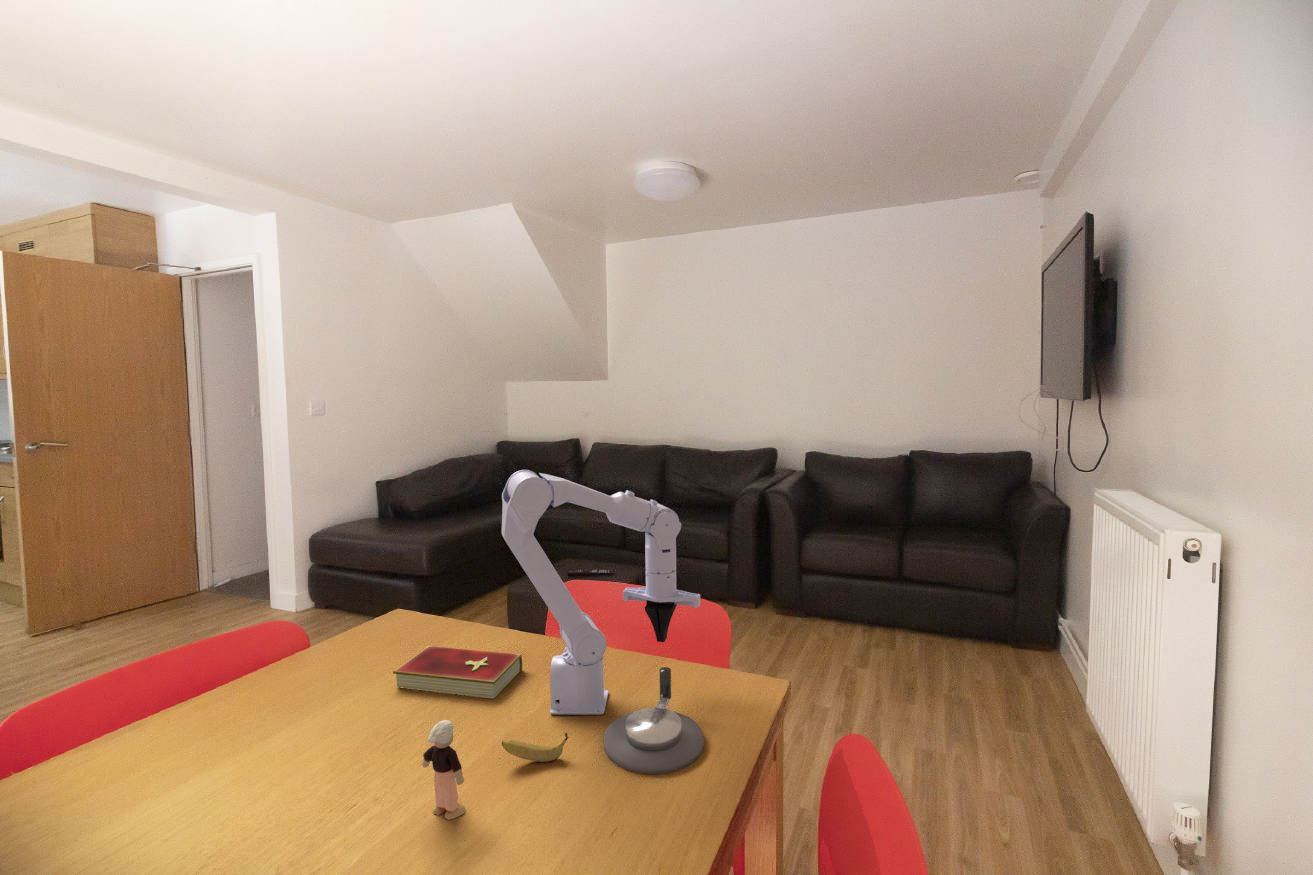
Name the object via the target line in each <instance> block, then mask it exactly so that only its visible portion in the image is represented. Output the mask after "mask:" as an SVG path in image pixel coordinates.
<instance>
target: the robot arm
mask: <svg viewBox="0 0 1313 875" xmlns="http://www.w3.org/2000/svg"><path fill="white" fill-rule="evenodd" d="M540 476H541V477H540ZM635 494H636V493H634V492H633V491H631V490H628V489H627V490H625V492H623V491H618V492H615V493H613V494H611V495H608V494H606V493H603V492H601V491H599V490H598V491H597V490H595V489H593V488H590V487H588V486H584V485H582V484H579V483H576V482H573V481H571V480H568V479H566V478H562V477H560V476H559V477H558V476H555V475H551V474H547V473H541V472H539V473H538V474H537V473H536V472H534V471H532V470H529V469H521V470H518V471H516V472H514V473H512V474H511V475H510V477H508V479H507V481H506V483H505V486H504V488H503V491H502V493H501V500H502V507H501V508H502V514H501V536H502V537H503V539H504V541H505V543H506V545H507V546H508V548H509V550H510V551H511V553H512V554H513V555H514V557H515V559H516V560H517V561H518V563H519V564H520V567H521V568H522V569H523V571H524V572H525V574H526V576H527V577H528V579H529V580H530V582H531V583H532V585H533V586H534V588H535V589H536V591H537V592H538V594H539V595H540V597H541V599H542V600H543V601H544V603H545V605H546V607H547V608H548V610H549V611H550V612H551V615H553V617H554V619H555V620H556V622H557V624H558V625H559V633H560V634H559V635H560V637H561V639H562V640H563V642H564V643H565V644H566V646H565V647H564V650H563V652H562V654H557V655H553V656H552V659H551V663H550V672H549V689H550V691H549V692H550V711H549V712H550V714H551V715H604V713H605V711H606V706H607V702H608V697H609V690H608V689H605V679H604V678H605V677H604V674H605V672H604V654H605V653H606V649H607V639H606V636H605V634H604V633H603V632H602V631H601V630H599V629H598V627H597V625H596V624H595V623H594V621H593V619H592V617H591V616H590V615H589V614H587V613H586V612H583V611H582V609H581V608H580V606H579V605H578V603H577V602H576V600H575V599H574V597H573V595H572V594H571V593H570V591H569V589H568V587H567V586H566V584H565V583H564V581H563V580H562V578H561V576H560V575H559V573H558V572H557V570H556V569H555V567H554V565H553V564H552V562H551V561H550V559H549V557H548V556H547V554H546V552H545V551H544V549H543V548H542V546H541V544H540V543H539V542H538V540H537V538H536V537H535V536H534V533H535V530H536V527H537V525H538V522H539V520H540V519H541V517H542V516H543V514H544V513H545V512H546V511H547V509H548V508H549V507H550V506H552V507H553V508H557V507H559V506H561V505H563V504H565V503H570V504H574V505H577V506H581V507H584V508H587V509H590V510H591V509H592V510H593V511H594V510H595V511H597V512H598V511H599V512H602V513H605V514H606V515H605V516H606V517H607V519H608V521H609V522H610V523H612V524H614V525H615V524H616V525H618V526H622V527H624V528H629V529H631V530H635V531H637V532H640V533H641V532H642V533H643V532H645V537H644V538H645V546H644V548H645V550H644V552H645V556H644V557H645V559H644V561H645V587H625V588H624V590H622V599H623V600H622V601H626V602H629V601H639V602H646V603H645V606H644V611H645V613H646V615H647V617H648V618H649V621H650V623H651V625H652V627H653V631H654V634H655V638H656V642H658V643H665V642H666V640H667V638H668V632H669V631H668V630H669V626H670V624H671V620H672V618H673V615H674V613H675V610H676V608H677V606H678V605H680V606H692V608H697V609H698V608H699V607H700V605H701V593H693V592H688V591H686V590H681V589H677V536H678V535H679V533H680V531H681V528H682V522H681V521H680V519H679V516H678V514H677V512H676V511H675V510H673V509H671V508H669V507H667V506H665V505H663V504H661V503H659V502H658V501H656V500H655V499H650V500H647V499H644V498H641V497H637V496H635Z"/></svg>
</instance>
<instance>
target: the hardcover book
mask: <svg viewBox="0 0 1313 875" xmlns="http://www.w3.org/2000/svg"><path fill="white" fill-rule="evenodd" d="M520 672H523V656H522V654H519V653H508V652H497V651H485V650H475V649H474V650H473V649H465V648H464V649H463V648H456V647H455V648H453V647H452V648H451V647H444V646H442V647H441V646H433V645H427V646H426V647H424V648H423V649H421V650H420V651H419V652H417V653H416V654H415V655H414V656H412V657H411V658H409V659H408V660H407V661H405V662H404V663H403V664H401V665H400V666H399V667H397V668H396V669H395V670H392V674H395V675H396V688H397V687H403V688H408V689H407V690H409V689H417V690H416V691H418V690H425V691H424V692H428V691H434V692H433V693H437V692H438V693H437V694H446V693H447V694H448V695H455V694H457V695H458V696H464V695H465V696H466V697H473V696H474V698H482V699H483V698H485V699H491V700H492V699H493V700H494V699H495V698H497V696H498V695H499V694H500V693H501V692H502V690H504V688H506V686H508V684H509V683H510V682H511V681H512V680H513V679H514V678H515V677H516V676H517V675H518V674H519V673H520ZM447 694H446V695H447ZM457 695H456V696H457Z"/></svg>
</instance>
